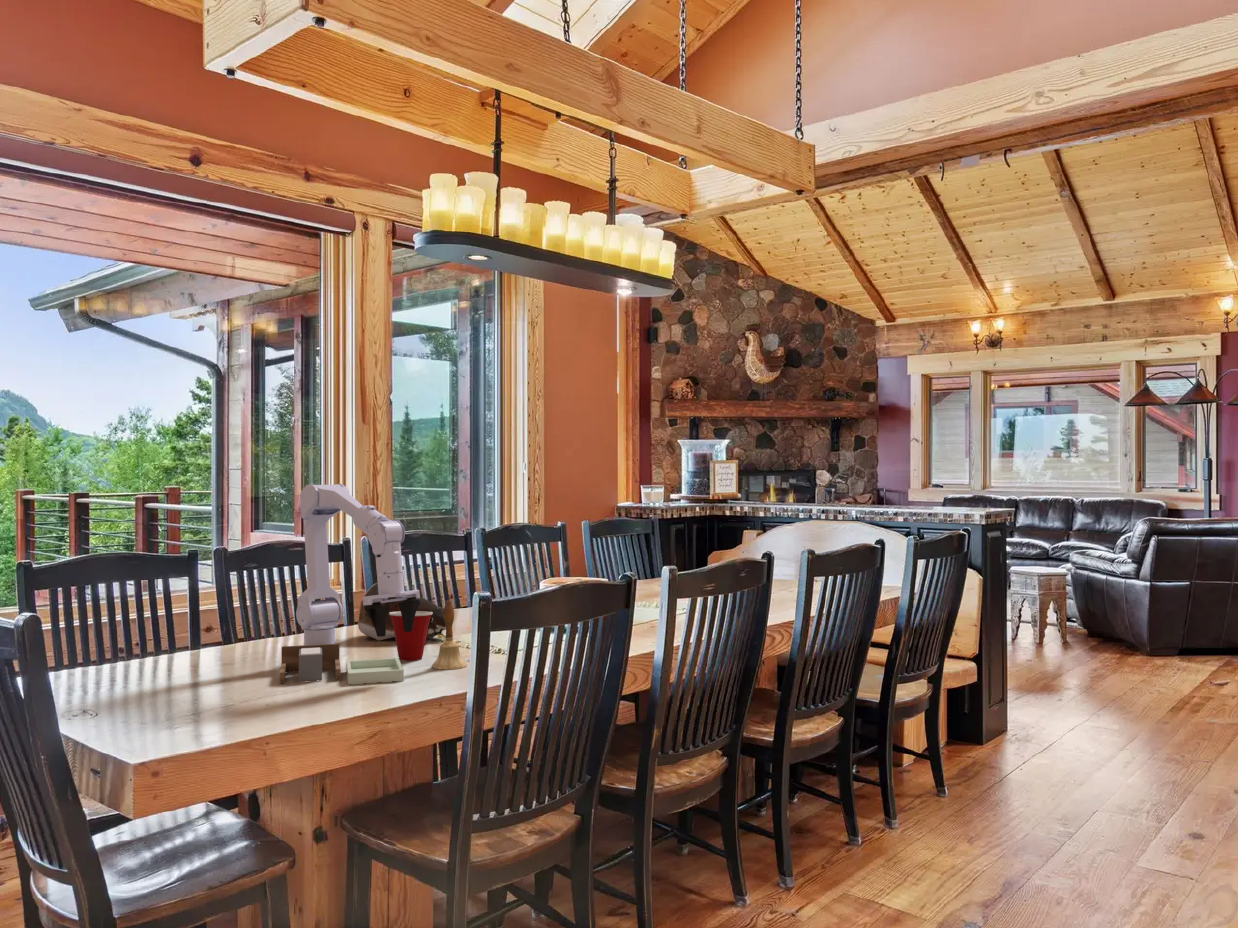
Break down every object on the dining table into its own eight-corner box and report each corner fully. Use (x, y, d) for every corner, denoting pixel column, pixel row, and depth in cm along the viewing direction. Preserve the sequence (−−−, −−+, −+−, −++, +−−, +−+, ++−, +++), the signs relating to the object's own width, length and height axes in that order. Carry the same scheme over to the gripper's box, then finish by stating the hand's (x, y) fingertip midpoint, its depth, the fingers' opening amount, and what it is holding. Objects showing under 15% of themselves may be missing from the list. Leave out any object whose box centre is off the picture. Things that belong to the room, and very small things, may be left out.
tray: (346, 671, 224) (346, 660, 224) (398, 668, 228) (398, 657, 228) (348, 684, 211) (348, 673, 211) (403, 680, 214) (403, 669, 214)
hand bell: (459, 670, 225) (459, 603, 225) (426, 669, 227) (426, 602, 227) (471, 663, 234) (471, 598, 234) (439, 662, 235) (439, 597, 235)
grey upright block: (299, 675, 221) (299, 648, 221) (321, 673, 222) (322, 646, 222) (298, 682, 213) (298, 654, 213) (322, 681, 215) (322, 653, 215)
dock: (281, 671, 223) (281, 646, 223) (339, 668, 227) (339, 643, 227) (279, 684, 211) (279, 657, 211) (340, 680, 215) (340, 653, 215)
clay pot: (445, 601, 257) (364, 581, 263) (432, 657, 256) (351, 635, 262) (467, 601, 271) (389, 581, 277) (454, 654, 270) (376, 633, 276)
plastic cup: (438, 654, 244) (438, 608, 244) (425, 663, 233) (425, 614, 233) (397, 653, 245) (397, 607, 245) (382, 662, 234) (382, 613, 235)
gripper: (375, 575, 207) (380, 637, 206) (426, 569, 219) (431, 629, 218) (355, 577, 212) (360, 638, 210) (406, 571, 223) (411, 630, 222)
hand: (395, 634), depth 214 cm, fingers open, 7 cm apart
